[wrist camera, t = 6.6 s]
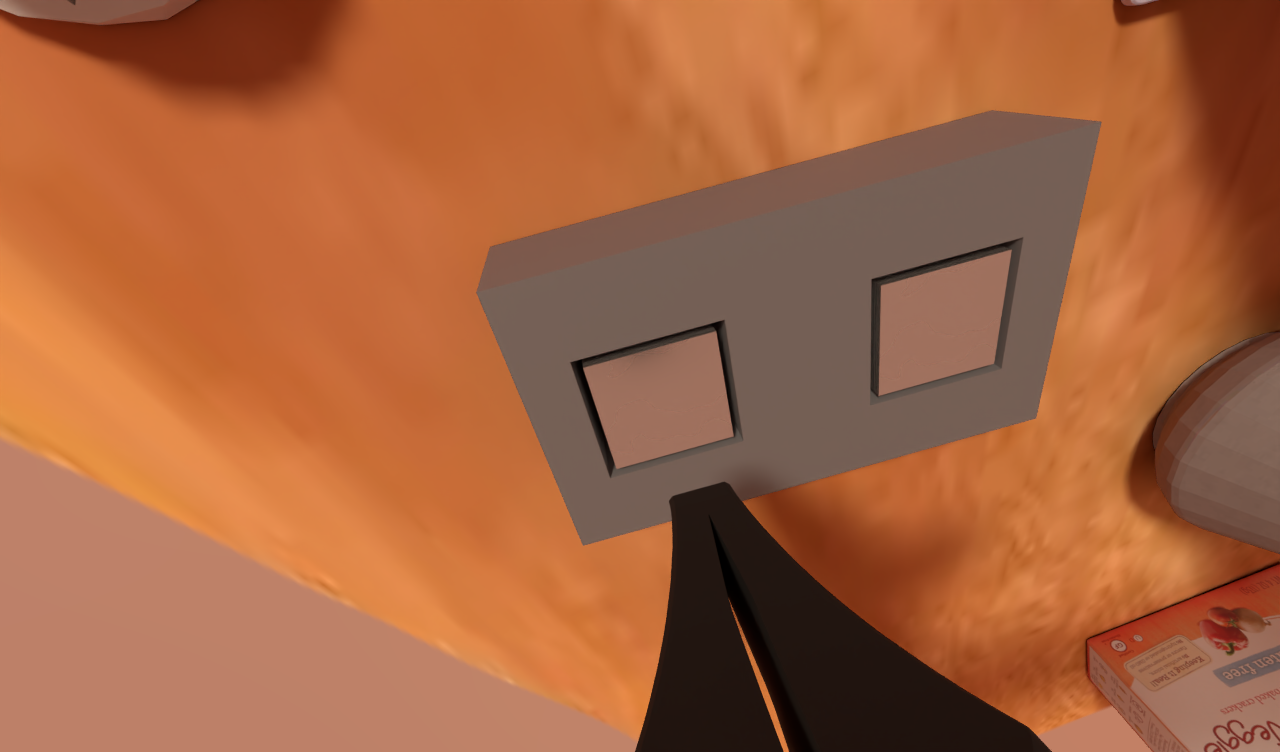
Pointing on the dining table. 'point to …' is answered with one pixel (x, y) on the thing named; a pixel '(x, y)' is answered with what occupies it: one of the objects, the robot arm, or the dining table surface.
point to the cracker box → (1199, 670)
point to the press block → (792, 307)
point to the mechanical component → (96, 10)
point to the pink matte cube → (937, 318)
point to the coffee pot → (1226, 444)
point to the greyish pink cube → (660, 395)
